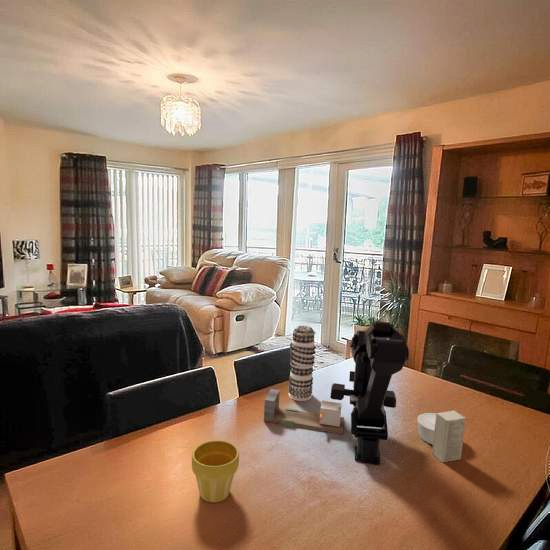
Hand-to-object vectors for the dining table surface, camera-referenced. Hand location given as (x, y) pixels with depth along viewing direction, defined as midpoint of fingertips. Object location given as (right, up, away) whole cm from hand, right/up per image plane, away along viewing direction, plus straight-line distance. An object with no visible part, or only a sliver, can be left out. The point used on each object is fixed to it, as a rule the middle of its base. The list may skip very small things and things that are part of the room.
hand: (360, 421), depth 115 cm
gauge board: (-17, -1, +4) cm, 17 cm away
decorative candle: (-17, +1, +21) cm, 27 cm away
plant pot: (-39, -5, -29) cm, 49 cm away
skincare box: (+21, -5, -11) cm, 24 cm away
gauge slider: (-9, -1, +1) cm, 9 cm away
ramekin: (+22, -4, -2) cm, 22 cm away
